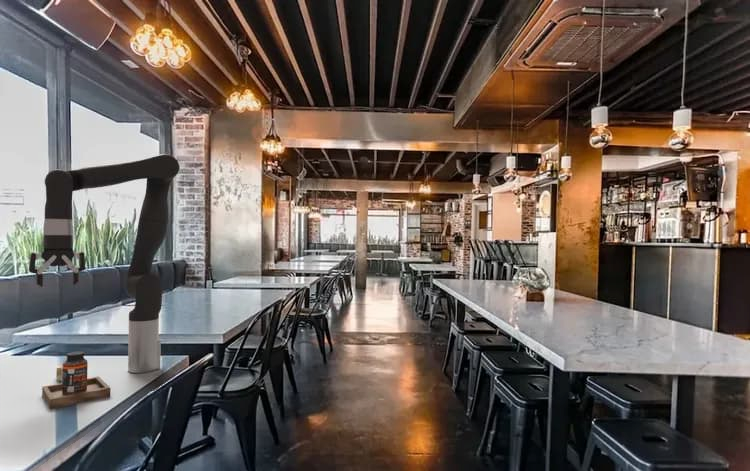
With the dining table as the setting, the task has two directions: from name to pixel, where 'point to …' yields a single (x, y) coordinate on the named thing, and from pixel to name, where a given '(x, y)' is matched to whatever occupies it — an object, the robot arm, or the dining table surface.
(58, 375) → the beech block
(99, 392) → the walnut tray
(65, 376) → the supplement bottle
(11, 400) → the dining table surface
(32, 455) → the dining table surface
